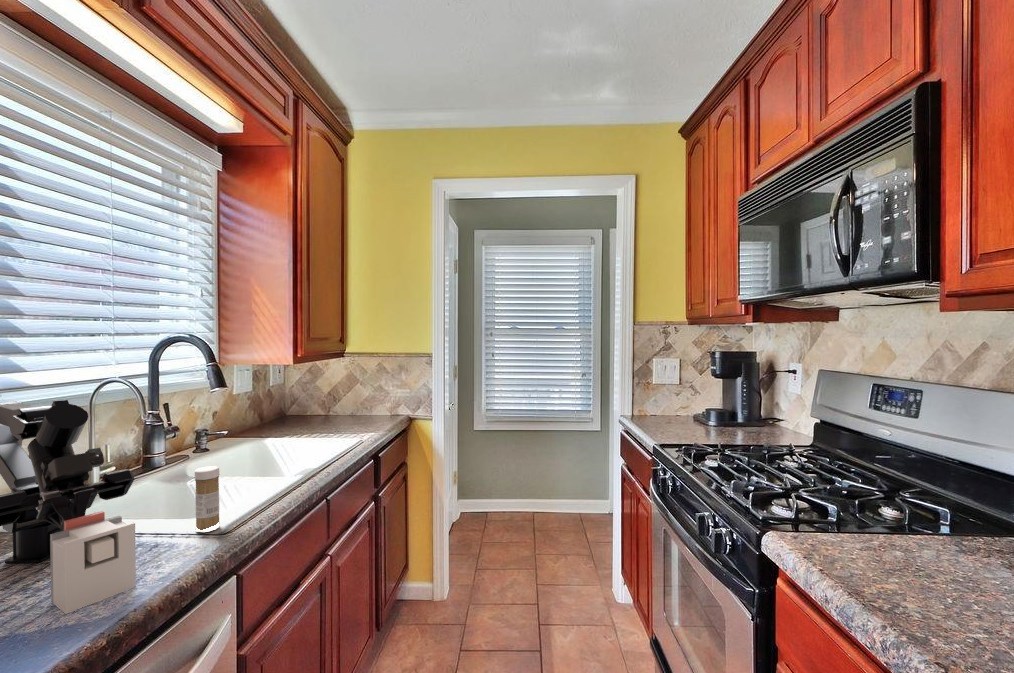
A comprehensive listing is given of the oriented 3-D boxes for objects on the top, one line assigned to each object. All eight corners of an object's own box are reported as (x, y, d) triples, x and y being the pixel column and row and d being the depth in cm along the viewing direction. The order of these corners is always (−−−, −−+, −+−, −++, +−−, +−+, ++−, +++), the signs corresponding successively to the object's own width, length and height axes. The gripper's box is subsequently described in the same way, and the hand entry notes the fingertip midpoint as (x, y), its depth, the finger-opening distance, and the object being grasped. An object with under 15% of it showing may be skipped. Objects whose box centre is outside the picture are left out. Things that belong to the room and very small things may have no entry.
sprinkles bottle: (218, 523, 106) (217, 463, 106) (221, 530, 102) (221, 468, 102) (193, 529, 103) (193, 467, 103) (196, 536, 99) (195, 472, 99)
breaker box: (51, 601, 75) (50, 534, 75) (119, 576, 83) (119, 515, 83) (65, 614, 72) (64, 543, 72) (135, 586, 80) (135, 523, 80)
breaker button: (64, 560, 78) (64, 521, 78) (102, 548, 82) (102, 511, 82) (83, 573, 74) (82, 531, 73) (122, 560, 78) (122, 520, 78)
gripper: (-11, 447, 75) (11, 532, 70) (130, 426, 91) (157, 494, 86) (-24, 487, 80) (-4, 570, 74) (113, 461, 96) (137, 527, 90)
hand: (78, 537), depth 81 cm, fingers closed
